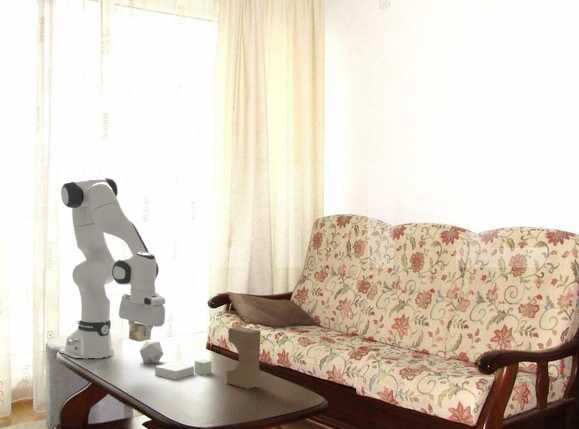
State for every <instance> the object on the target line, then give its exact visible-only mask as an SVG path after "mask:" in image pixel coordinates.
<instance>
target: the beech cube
mask: <svg viewBox="0 0 579 429" xmlns="http://www.w3.org/2000/svg"><path fill="white" fill-rule="evenodd" d="M146 330H147V327H146V324H143V323H139V322H135V323H132V324H130V326H129V330H128V331H129V334H128V340H131V341H136V342H138V343H139V342H144V341H145V342H146V341H149V340H151V338H152V330H151V331H150V336H148V337H146V336H144V331H146Z"/></svg>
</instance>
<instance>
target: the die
mask: <svg viewBox="0 0 579 429" xmlns="http://www.w3.org/2000/svg"><path fill="white" fill-rule="evenodd" d="M162 348H163V347H162V346H161V342H160V341H152V340H151V341H149V340H145V342H144V344H143V346H142V347H141V348H140V350H139V354H140V357H141V358H142V361H143V364H153V365H155V364H157V365H158V363H159V362H160V360H161V359H162V357H163V355H164V352H163V349H162Z"/></svg>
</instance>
